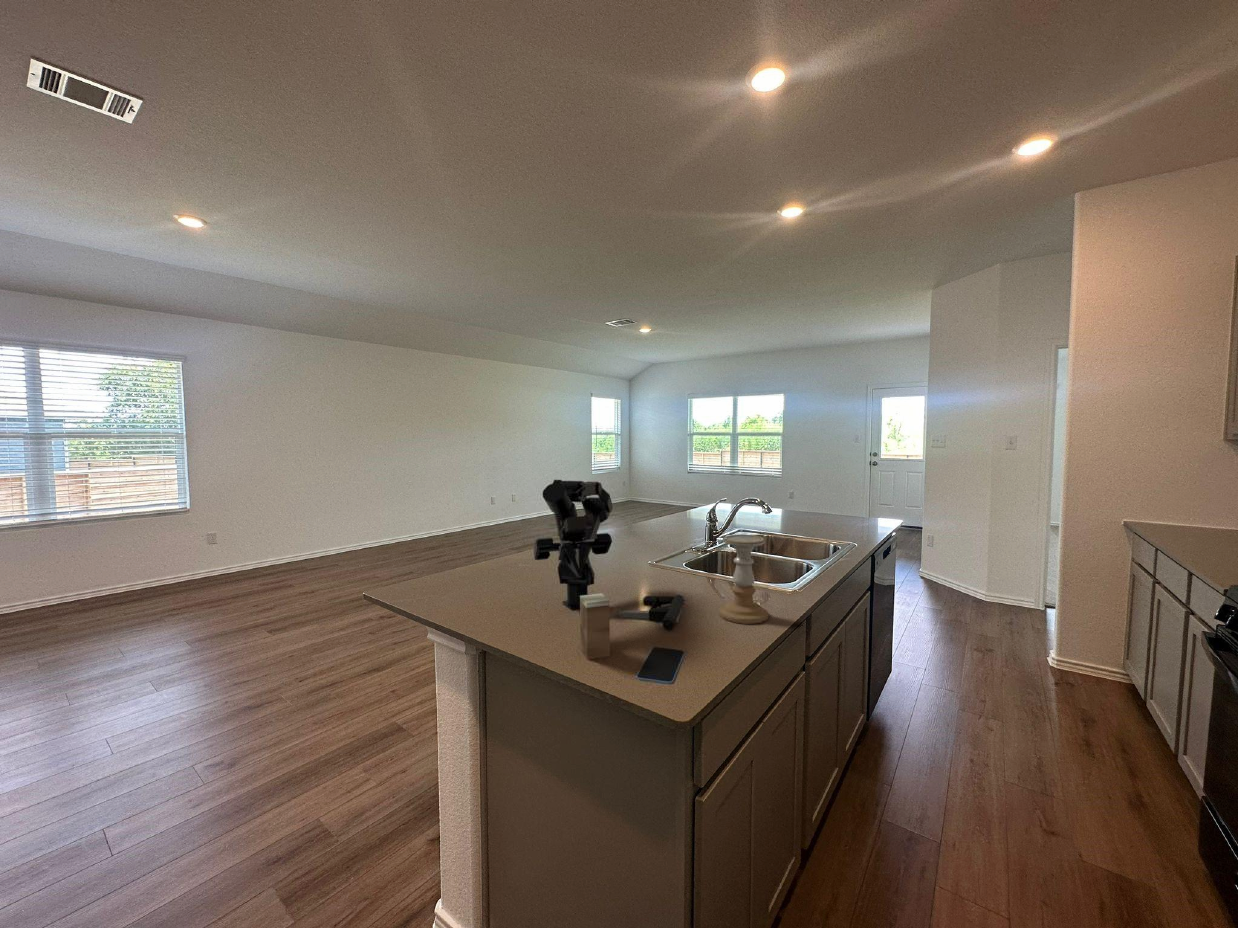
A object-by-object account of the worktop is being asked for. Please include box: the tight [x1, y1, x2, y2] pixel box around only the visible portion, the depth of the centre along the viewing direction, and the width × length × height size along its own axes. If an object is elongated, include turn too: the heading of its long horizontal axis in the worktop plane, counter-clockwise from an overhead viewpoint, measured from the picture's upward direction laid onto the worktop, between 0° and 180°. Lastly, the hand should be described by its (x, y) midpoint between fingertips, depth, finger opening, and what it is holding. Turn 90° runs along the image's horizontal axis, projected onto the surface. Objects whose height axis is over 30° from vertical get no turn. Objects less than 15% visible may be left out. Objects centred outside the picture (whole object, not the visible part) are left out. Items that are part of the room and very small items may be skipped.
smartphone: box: [635, 646, 686, 685], centre depth 102 cm, size 7×1×15 cm
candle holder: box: [718, 534, 769, 625], centre depth 129 cm, size 12×12×20 cm
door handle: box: [618, 594, 688, 631], centre depth 131 cm, size 3×20×16 cm
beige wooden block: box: [579, 592, 611, 660], centre depth 108 cm, size 5×5×12 cm
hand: (579, 576), depth 118 cm, fingers closed
